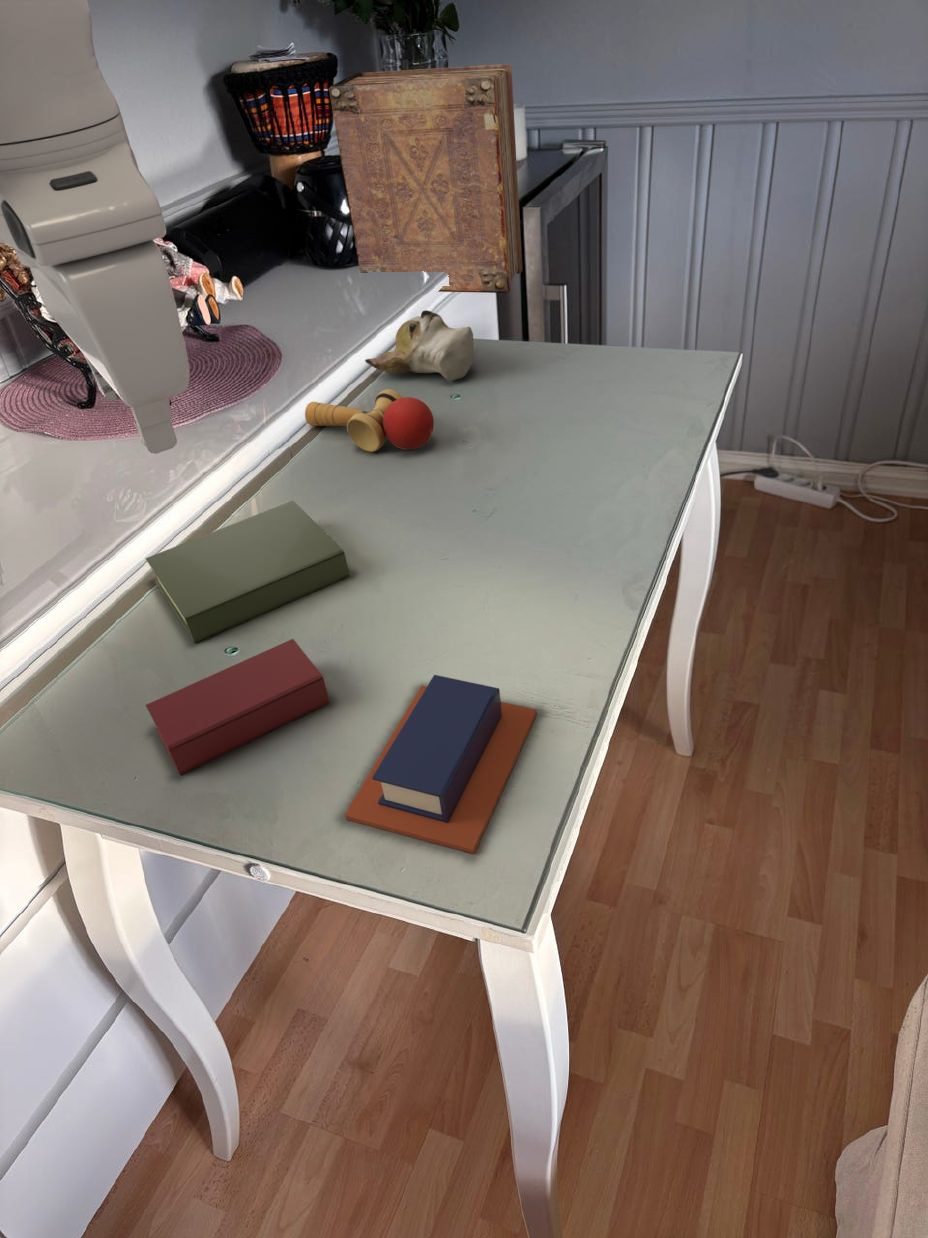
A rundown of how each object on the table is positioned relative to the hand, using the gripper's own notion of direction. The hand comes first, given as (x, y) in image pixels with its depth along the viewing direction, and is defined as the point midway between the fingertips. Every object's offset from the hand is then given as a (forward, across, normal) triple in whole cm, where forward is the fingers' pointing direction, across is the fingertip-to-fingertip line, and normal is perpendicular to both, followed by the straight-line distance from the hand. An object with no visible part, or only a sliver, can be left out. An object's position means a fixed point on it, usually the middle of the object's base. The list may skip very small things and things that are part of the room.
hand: (138, 419), depth 58 cm
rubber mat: (+27, +14, +11) cm, 33 cm away
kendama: (+27, -36, +31) cm, 55 cm away
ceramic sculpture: (+27, -47, +46) cm, 71 cm away
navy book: (+27, +14, +11) cm, 32 cm away
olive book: (+27, -18, +8) cm, 33 cm away
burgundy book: (+27, 0, 0) cm, 27 cm away
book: (+27, -76, +66) cm, 104 cm away
